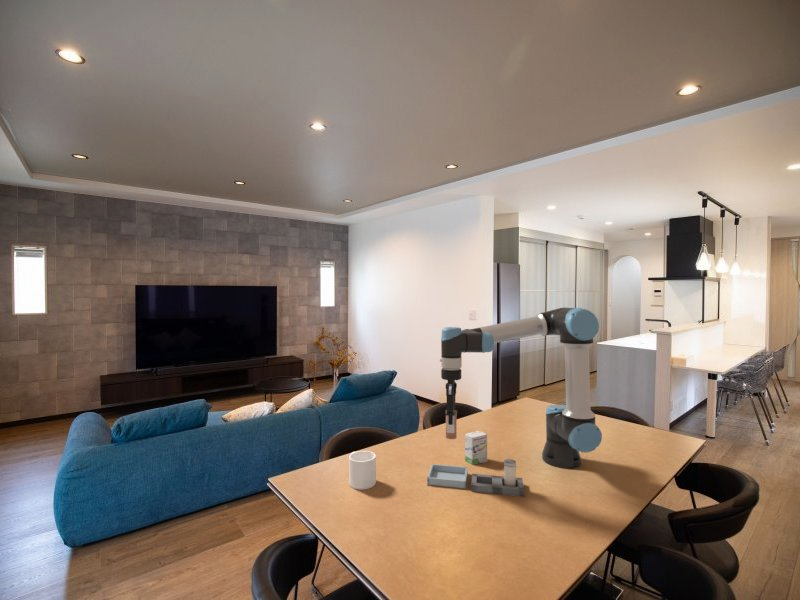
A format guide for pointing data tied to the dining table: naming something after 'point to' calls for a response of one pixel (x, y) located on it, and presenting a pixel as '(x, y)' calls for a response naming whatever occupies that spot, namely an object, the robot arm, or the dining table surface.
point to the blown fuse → (453, 435)
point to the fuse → (510, 472)
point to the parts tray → (447, 476)
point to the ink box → (475, 447)
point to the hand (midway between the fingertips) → (451, 430)
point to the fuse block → (495, 485)
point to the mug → (362, 470)
